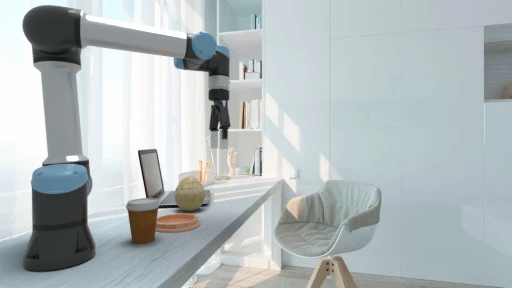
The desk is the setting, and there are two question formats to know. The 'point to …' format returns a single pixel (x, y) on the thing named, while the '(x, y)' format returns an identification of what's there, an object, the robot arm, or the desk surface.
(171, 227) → the terracotta plant saucer
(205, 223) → the desk surface
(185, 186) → the fossilized egg
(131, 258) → the desk surface
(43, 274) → the desk surface
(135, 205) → the disposable coffee cup
